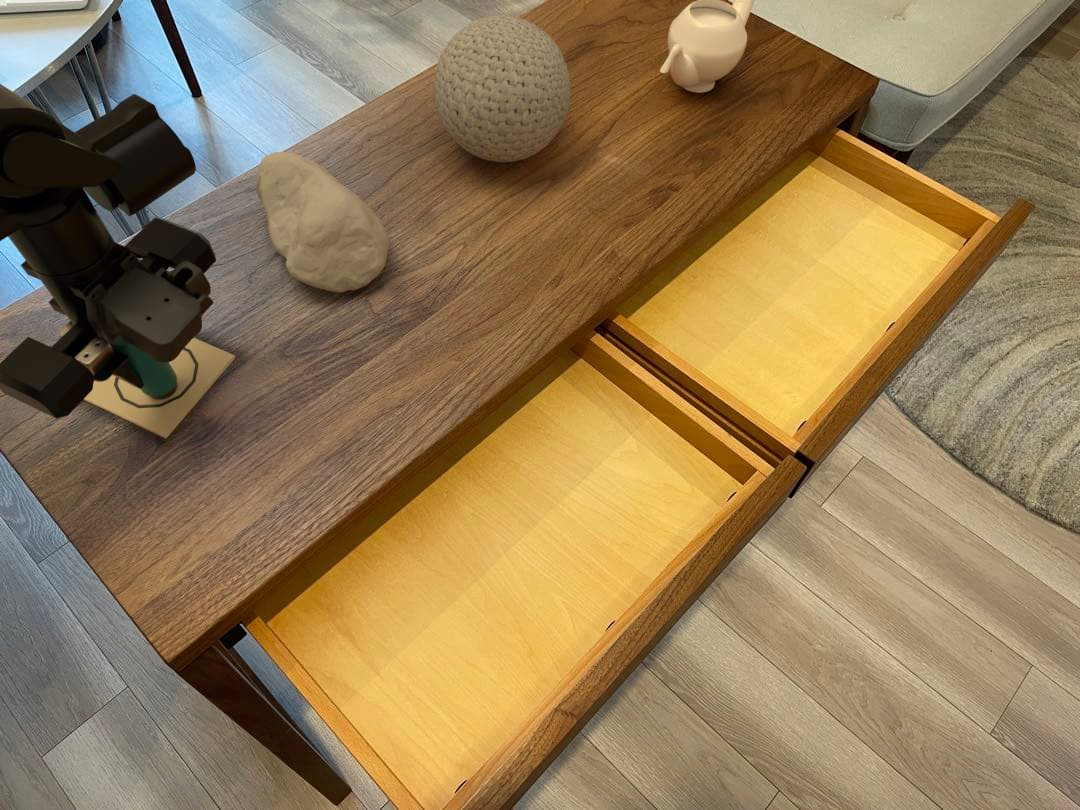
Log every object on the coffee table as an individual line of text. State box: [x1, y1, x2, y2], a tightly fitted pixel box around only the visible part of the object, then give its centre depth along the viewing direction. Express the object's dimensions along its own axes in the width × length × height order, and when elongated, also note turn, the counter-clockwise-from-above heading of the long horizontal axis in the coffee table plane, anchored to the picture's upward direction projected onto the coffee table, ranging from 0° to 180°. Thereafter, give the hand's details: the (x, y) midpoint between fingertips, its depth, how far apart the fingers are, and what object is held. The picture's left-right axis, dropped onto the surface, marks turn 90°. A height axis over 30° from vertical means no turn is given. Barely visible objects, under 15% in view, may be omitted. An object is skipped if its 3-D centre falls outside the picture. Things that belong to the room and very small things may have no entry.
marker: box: [107, 335, 177, 400], centre depth 68 cm, size 3×3×8 cm
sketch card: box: [82, 337, 236, 439], centre depth 73 cm, size 10×10×1 cm
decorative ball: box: [433, 14, 572, 163], centre depth 86 cm, size 15×15×15 cm
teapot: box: [659, 0, 755, 94], centre depth 97 cm, size 10×20×9 cm, turn 140°
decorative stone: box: [255, 151, 391, 294], centre depth 80 cm, size 17×10×10 cm
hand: (151, 371), depth 69 cm, fingers closed on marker, 3 cm apart
